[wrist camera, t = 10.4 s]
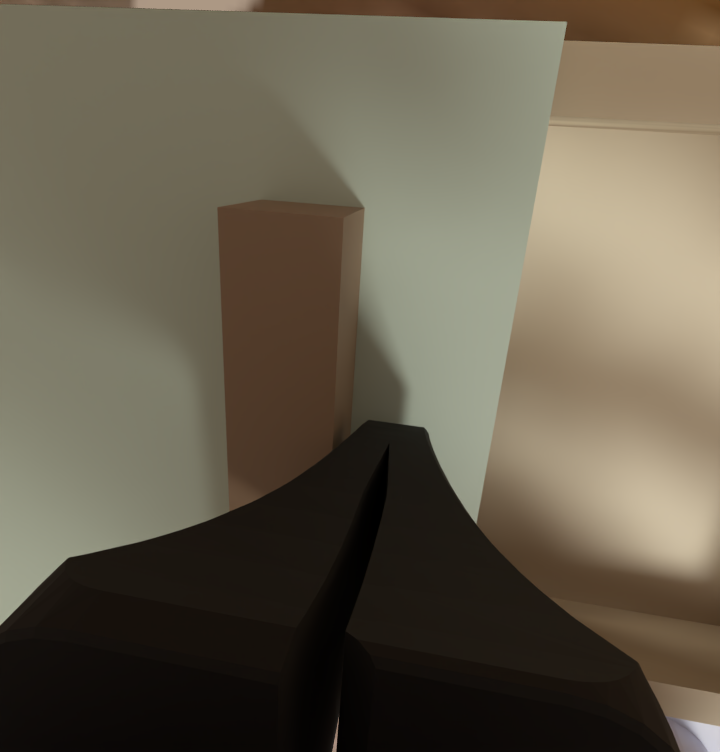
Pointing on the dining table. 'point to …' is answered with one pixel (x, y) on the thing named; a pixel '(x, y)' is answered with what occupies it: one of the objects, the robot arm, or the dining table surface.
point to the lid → (248, 255)
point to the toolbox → (622, 367)
